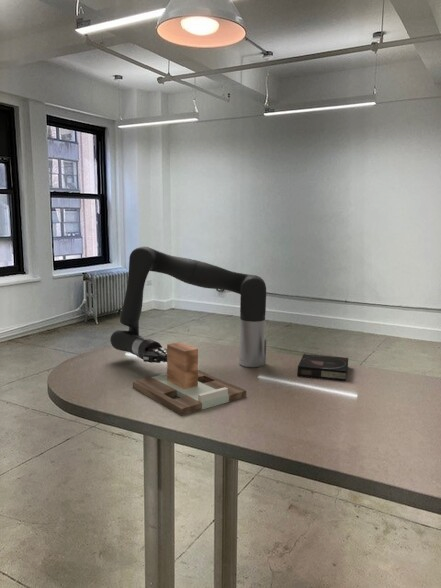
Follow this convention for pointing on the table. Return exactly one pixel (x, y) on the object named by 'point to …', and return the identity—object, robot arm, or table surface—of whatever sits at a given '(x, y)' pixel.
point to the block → (182, 365)
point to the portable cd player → (323, 367)
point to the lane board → (189, 392)
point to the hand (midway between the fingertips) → (173, 361)
